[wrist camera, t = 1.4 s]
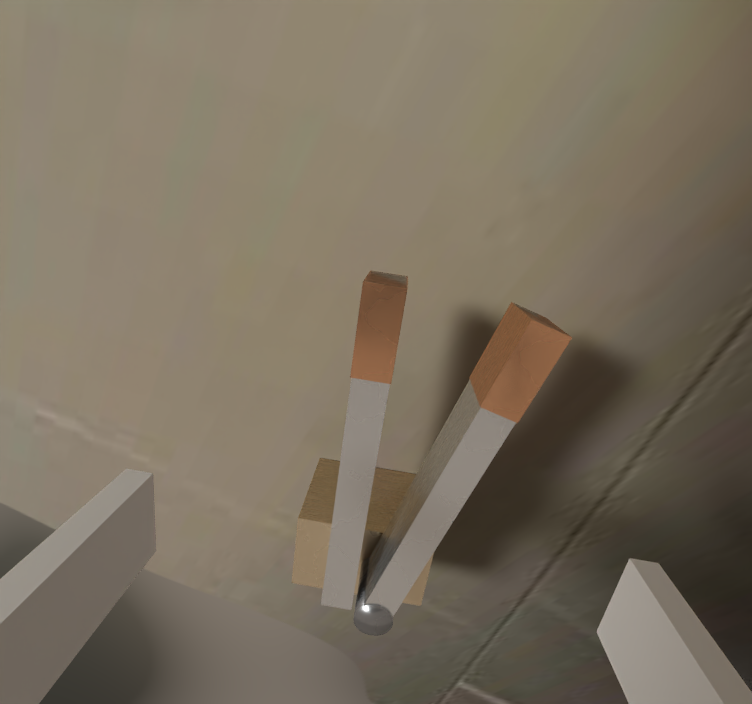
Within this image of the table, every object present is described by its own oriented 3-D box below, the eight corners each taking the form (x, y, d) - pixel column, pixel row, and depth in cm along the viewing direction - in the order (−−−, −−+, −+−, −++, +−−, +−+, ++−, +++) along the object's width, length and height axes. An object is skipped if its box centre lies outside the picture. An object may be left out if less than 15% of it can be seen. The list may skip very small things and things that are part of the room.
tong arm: (508, 300, 18) (528, 318, 15) (548, 318, 18) (576, 339, 15) (355, 574, 24) (347, 626, 21) (386, 586, 24) (383, 640, 21)
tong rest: (343, 251, 24) (307, 272, 15) (477, 272, 24) (516, 305, 15) (313, 513, 30) (276, 631, 22) (418, 532, 30) (422, 658, 22)
